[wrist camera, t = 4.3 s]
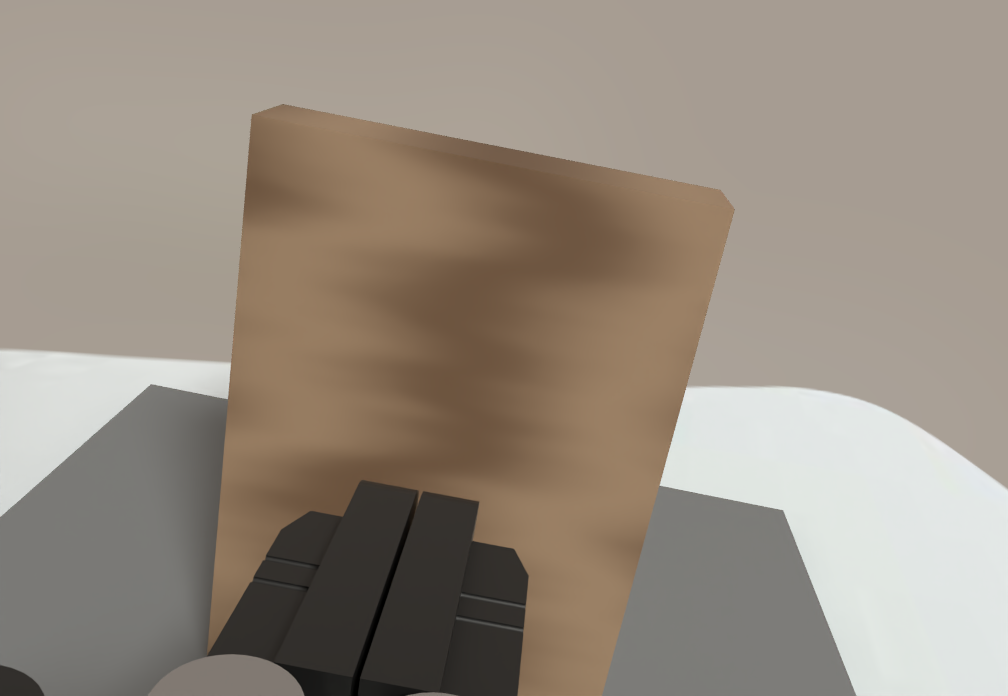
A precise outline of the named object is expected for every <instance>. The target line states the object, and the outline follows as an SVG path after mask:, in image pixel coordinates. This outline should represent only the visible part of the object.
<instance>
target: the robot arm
mask: <svg viewBox="0 0 1008 696" xmlns="http://www.w3.org/2000/svg"><path fill="white" fill-rule="evenodd" d="M418 498H419V491H418V490H414V489H409V488H404V487H398V486H393V485H388V484H382V483H377V482H372V481H366V480H361V481H360V482H359V484H358V486H357V488H356V490H355V493H354V495H353V497H352V499H351V501H350V503H349V505H348V507H347V509H346V511H345V513H344V516H343V517H342V516H336V515H331V514H326V513H320V512H315V511H309V512H308V513H306V514H305V515H303V516H301V517H300V518H298V519H297V520H295V521H294V522H292V523H290V524H289V525H287V526H286V527H284V528H283V529H281V530H280V532H279V534H278V536H277V537H276V539H275V541H274V542H273V544H272V546H271V547H270V549H269V551H268V553H267V554H266V558H265V560H263V561H262V563H261V565H260V566H259V568H258V570H257V571H256V573H255V575H254V577H253V581H252V582H250V583H249V585H248V587H247V588H246V590H245V592H244V594H243V595H242V597H241V599H240V600H239V602H238V604H237V606H236V607H235V609H234V611H233V612H232V614H231V616H230V617H229V619H228V621H227V623H226V624H225V626H224V628H223V629H222V631H221V633H220V635H219V636H218V638H217V640H216V641H215V643H214V645H213V647H212V648H211V650H210V652H209V653H208V655H207V657H204V658H201V659H197V660H194V661H191V662H189V663H186V664H184V665H181V666H180V667H178V668H176V669H174V670H173V671H171V672H170V673H168V674H167V675H166V676H164V677H163V678H162V679H161V680H160V681H159V682H158V683H157V684H156V685H155V686H154V687H153V689H152V690H151V691H150V693H149V694H148V695H147V696H518V686H519V676H520V665H521V654H522V643H523V630H524V622H525V611H526V610H525V608H526V601H527V590H528V579H529V575H528V574H527V572H526V570H525V568H524V566H523V564H522V562H521V561H520V559H519V557H518V555H517V553H516V551H515V549H513V548H507V547H502V546H497V545H491V544H486V543H481V542H475V541H473V537H474V531H475V526H476V520H477V515H478V509H479V501H474V500H469V499H463V498H458V497H453V496H447V495H442V494H437V493H432V492H426V491H423V492H422V495H421V497H420V500H419V503H418ZM0 696H44V693H43V691H42V690H41V688H40V686H39V685H38V684H37V683H36V682H35V681H34V680H33V679H32V678H31V677H29V676H28V675H26V674H25V673H23V672H21V671H18V670H16V669H13V668H11V667H6V666H2V665H0Z"/></svg>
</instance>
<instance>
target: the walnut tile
mask: <svg viewBox="0 0 1008 696" xmlns="http://www.w3.org/2000/svg"><path fill="white" fill-rule="evenodd" d="M733 214H734V208H733V206H732V205H731V204H730V202H729V201H728V200H727V198H726V197H725V196H724V194H723V193H722V192H721V190H718V189H713V188H708V187H702V186H697V185H692V184H687V183H682V182H677V181H672V180H666V179H661V178H656V177H652V176H646V175H641V174H636V173H631V172H626V171H620V170H616V169H610V168H606V167H601V166H595V165H590V164H585V163H580V162H575V161H570V160H565V159H560V158H555V157H550V156H544V155H539V154H534V153H529V152H524V151H519V150H513V149H508V148H503V147H499V146H493V145H488V144H483V143H477V142H473V141H468V140H463V139H458V138H452V137H447V136H442V135H437V134H432V133H427V132H422V131H417V130H412V129H407V128H402V127H396V126H391V125H386V124H381V123H375V122H371V121H366V120H360V119H355V118H351V117H345V116H340V115H335V114H330V113H325V112H320V111H315V110H310V109H305V108H299V107H294V106H289V105H284V104H282V105H279V106H276V107H273V108H270V109H267V110H264V111H261V112H258V113H255V114H252V119H251V131H250V143H249V155H248V167H247V179H246V191H245V204H244V215H243V227H242V228H243V229H242V239H241V251H240V263H239V275H238V287H237V288H238V289H237V299H236V311H235V323H234V335H233V349H232V359H231V371H230V384H229V396H228V408H227V420H226V432H225V444H224V456H223V468H222V480H221V492H220V504H219V516H218V528H217V540H216V552H215V564H214V576H213V588H212V600H211V612H210V624H209V636H208V648H207V655H208V653H209V652H210V650H211V648H212V647H213V645H214V643H215V641H216V640H217V638H218V636H219V635H220V633H221V631H222V629H223V628H224V626H225V624H226V623H227V621H228V619H229V617H230V616H231V614H232V612H233V611H234V609H235V607H236V606H237V604H238V602H239V600H240V599H241V597H242V595H243V594H244V592H245V590H246V588H247V587H248V585H249V583H250V582H252V581H253V577H254V575H255V573H256V571H257V570H258V568H259V566H260V565H261V563H262V561H263V560H265V558H266V554H267V553H268V551H269V549H270V547H271V546H272V544H273V542H274V541H275V539H276V537H277V536H278V534H279V532H280V530H281V529H283V528H284V527H286V526H287V525H289V524H290V523H292V522H294V521H295V520H297V519H298V518H300V517H301V516H303V515H305V514H306V513H308V512H309V511H315V512H320V513H326V514H331V515H336V516H342V517H343V516H344V513H345V511H346V509H347V507H348V505H349V503H350V501H351V499H352V497H353V495H354V493H355V490H356V488H357V486H358V484H359V482H360V481H361V480H366V481H372V482H377V483H382V484H388V485H393V486H398V487H404V488H409V489H414V490H418V491H419V498H418V503H419V500H420V497H421V495H422V492H423V491H426V492H432V493H437V494H442V495H447V496H453V497H458V498H463V499H469V500H474V501H479V509H478V515H477V520H476V526H475V531H474V537H473V541H475V542H481V543H486V544H491V545H497V546H502V547H507V548H513V549H515V551H516V553H517V555H518V557H519V559H520V561H521V562H522V564H523V566H524V568H525V570H526V572H527V574H528V575H529V579H528V590H527V601H526V608H525V610H526V611H525V622H524V630H523V643H522V654H521V665H520V676H519V686H518V696H602V694H603V690H604V686H605V683H606V679H607V675H608V672H609V668H610V664H611V661H612V657H613V653H614V650H615V646H616V642H617V639H618V635H619V631H620V628H621V624H622V620H623V617H624V613H625V609H626V606H627V602H628V598H629V595H630V591H631V587H632V584H633V580H634V576H635V573H636V569H637V565H638V562H639V558H640V554H641V551H642V547H643V543H644V540H645V536H646V532H647V529H648V525H649V521H650V518H651V514H652V510H653V507H654V503H655V500H656V496H657V492H658V489H659V485H660V481H661V478H662V474H663V470H664V467H665V463H666V459H667V456H668V452H669V448H670V445H671V441H672V437H673V434H674V430H675V426H676V423H677V419H678V415H679V412H680V408H681V404H682V401H683V397H684V393H685V390H686V386H687V382H688V379H689V375H690V371H691V368H692V364H693V360H694V357H695V353H696V349H697V346H698V342H699V338H700V335H701V331H702V327H703V324H704V320H705V316H706V313H707V309H708V305H709V302H710V298H711V294H712V291H713V287H714V283H715V279H716V276H717V272H718V269H719V265H720V262H721V258H722V254H723V251H724V247H725V243H726V239H727V236H728V232H729V229H730V225H731V221H732V217H733Z"/></svg>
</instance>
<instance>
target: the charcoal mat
mask: <svg viewBox="0 0 1008 696" xmlns="http://www.w3.org/2000/svg"><path fill="white" fill-rule="evenodd" d="M227 408H228V400H227V399H222V398H217V397H212V396H207V395H202V394H197V393H192V392H187V391H182V390H177V389H172V388H167V387H162V386H157V385H152V384H151V385H150V386H149V387H148V388H146V389H145V390H144V391H143V392H142V393H141V394H140V395H138V396H137V397H136V398H135V399H134V400H133V401H132V402H131V403H129V404H128V405H127V406H126V407H125V408H124V409H123V410H121V411H120V412H119V413H118V414H117V415H116V416H115V417H114V418H112V419H111V420H110V421H109V422H108V423H107V424H106V425H104V426H103V427H102V428H101V429H100V430H99V431H98V432H97V433H95V434H94V435H93V436H92V437H91V438H90V439H89V440H87V441H86V442H85V443H84V444H83V445H82V446H81V447H80V448H78V449H77V450H76V451H75V452H74V453H73V454H72V455H70V456H69V457H68V458H67V459H66V460H65V461H64V462H63V463H61V464H60V465H59V466H58V467H57V468H56V469H55V470H53V471H52V472H51V473H50V474H49V475H48V476H47V477H46V478H44V479H43V480H42V481H41V482H40V483H39V484H38V485H36V486H35V487H34V488H33V489H32V490H31V491H30V492H29V493H27V494H26V495H25V496H24V497H23V498H22V499H21V500H19V501H18V502H17V503H16V504H15V505H14V506H13V507H12V508H10V509H9V510H8V511H7V512H6V513H5V514H4V515H2V516H1V517H0V665H2V666H6V667H11V668H13V669H16V670H18V671H21V672H23V673H25V674H26V675H28V676H29V677H31V678H32V679H33V680H34V681H35V682H36V683H37V684H38V685H39V686H40V688H41V690H42V691H43V693H44V696H147V695H148V694H149V693H150V691H151V690H152V689H153V687H154V686H155V685H156V684H157V683H158V682H159V681H160V680H161V679H162V678H163V677H164V676H166V675H167V674H168V673H170V672H171V671H173V670H174V669H176V668H178V667H180V666H181V665H184V664H186V663H189V662H191V661H194V660H197V659H201V658H204V657H207V648H208V636H209V624H210V612H211V600H212V588H213V576H214V564H215V552H216V540H217V528H218V516H219V504H220V492H221V480H222V468H223V456H224V444H225V432H226V420H227ZM602 696H856V694H855V692H854V689H853V686H852V684H851V681H850V679H849V676H848V674H847V671H846V669H845V666H844V664H843V661H842V659H841V656H840V654H839V651H838V648H837V646H836V643H835V641H834V638H833V636H832V633H831V631H830V628H829V626H828V623H827V621H826V618H825V616H824V613H823V611H822V608H821V605H820V603H819V600H818V598H817V595H816V593H815V590H814V588H813V585H812V583H811V580H810V578H809V575H808V573H807V570H806V567H805V565H804V562H803V560H802V557H801V555H800V552H799V550H798V547H797V545H796V542H795V540H794V537H793V535H792V532H791V530H790V527H789V524H788V522H787V519H786V517H785V514H784V512H783V510H778V509H773V508H768V507H763V506H758V505H753V504H748V503H743V502H738V501H733V500H728V499H723V498H718V497H713V496H708V495H703V494H698V493H693V492H688V491H683V490H678V489H673V488H668V487H663V486H659V489H658V492H657V496H656V500H655V503H654V507H653V510H652V514H651V518H650V521H649V525H648V529H647V532H646V536H645V540H644V543H643V547H642V551H641V554H640V558H639V562H638V565H637V569H636V573H635V576H634V580H633V584H632V587H631V591H630V595H629V598H628V602H627V606H626V609H625V613H624V617H623V620H622V624H621V628H620V631H619V635H618V639H617V642H616V646H615V650H614V653H613V657H612V661H611V664H610V668H609V672H608V675H607V679H606V683H605V686H604V690H603V694H602Z"/></svg>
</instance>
